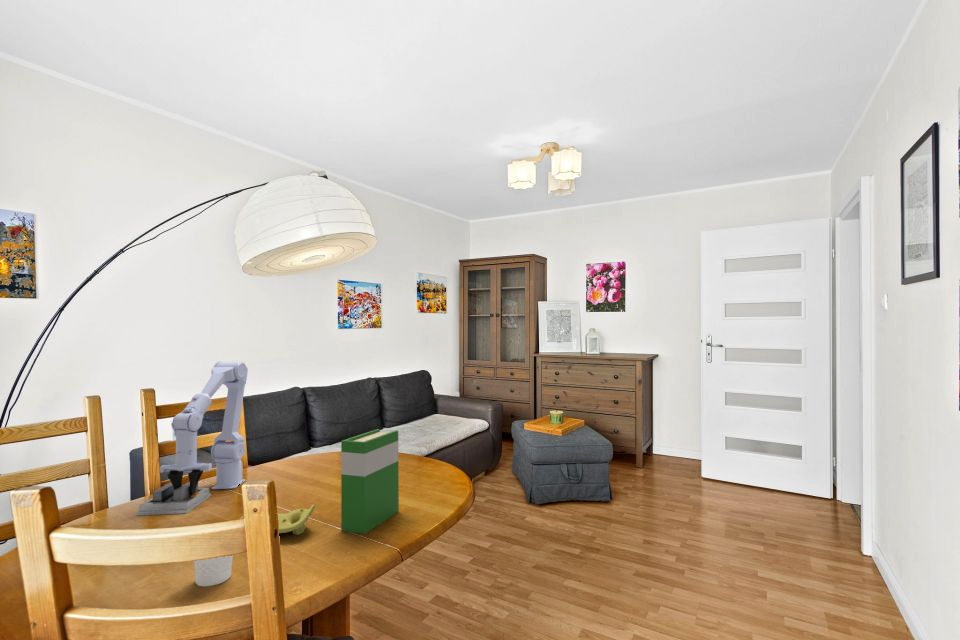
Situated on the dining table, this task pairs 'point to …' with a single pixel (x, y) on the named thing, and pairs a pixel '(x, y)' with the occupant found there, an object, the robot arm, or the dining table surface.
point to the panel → (183, 492)
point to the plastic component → (294, 520)
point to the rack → (171, 502)
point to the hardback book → (369, 480)
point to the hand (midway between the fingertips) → (185, 494)
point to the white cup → (212, 570)
